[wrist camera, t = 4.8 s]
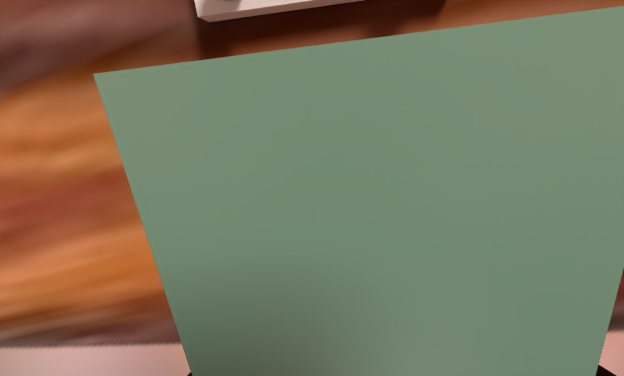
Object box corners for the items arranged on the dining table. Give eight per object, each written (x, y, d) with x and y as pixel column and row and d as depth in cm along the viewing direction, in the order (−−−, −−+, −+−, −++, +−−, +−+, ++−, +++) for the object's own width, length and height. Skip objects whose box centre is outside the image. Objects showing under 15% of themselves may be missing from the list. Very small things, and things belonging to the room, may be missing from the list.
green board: (460, 47, 7) (693, -3, 2) (443, 427, 11) (520, 659, 6) (233, 75, 7) (93, 74, 3) (299, 431, 11) (283, 652, 7)
